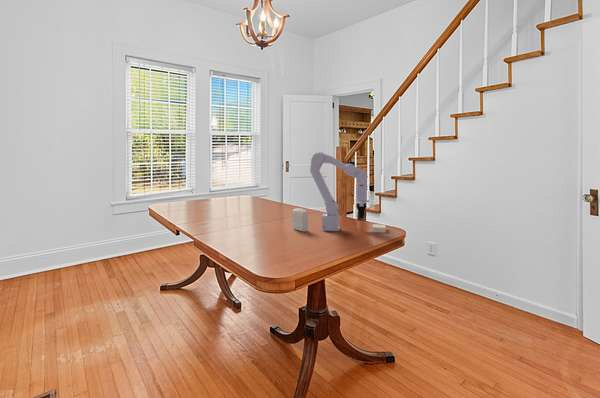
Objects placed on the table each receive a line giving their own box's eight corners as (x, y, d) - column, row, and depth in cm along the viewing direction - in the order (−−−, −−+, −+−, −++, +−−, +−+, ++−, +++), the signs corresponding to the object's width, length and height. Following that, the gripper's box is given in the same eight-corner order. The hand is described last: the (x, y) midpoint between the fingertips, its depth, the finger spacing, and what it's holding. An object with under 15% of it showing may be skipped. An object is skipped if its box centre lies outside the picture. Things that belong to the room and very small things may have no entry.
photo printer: (291, 229, 187) (291, 207, 185) (297, 227, 189) (297, 206, 187) (303, 232, 179) (302, 210, 177) (309, 231, 182) (308, 209, 180)
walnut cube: (357, 220, 178) (357, 213, 178) (357, 218, 182) (357, 211, 182) (365, 220, 177) (365, 213, 177) (365, 219, 182) (365, 212, 181)
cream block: (372, 232, 177) (372, 227, 176) (372, 229, 183) (372, 224, 183) (385, 233, 175) (385, 227, 175) (385, 229, 182) (385, 224, 181)
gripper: (369, 194, 170) (368, 220, 172) (368, 190, 184) (368, 214, 186) (355, 194, 171) (355, 219, 173) (356, 190, 185) (355, 214, 187)
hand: (361, 216), depth 180 cm, fingers closed on walnut cube, 4 cm apart
